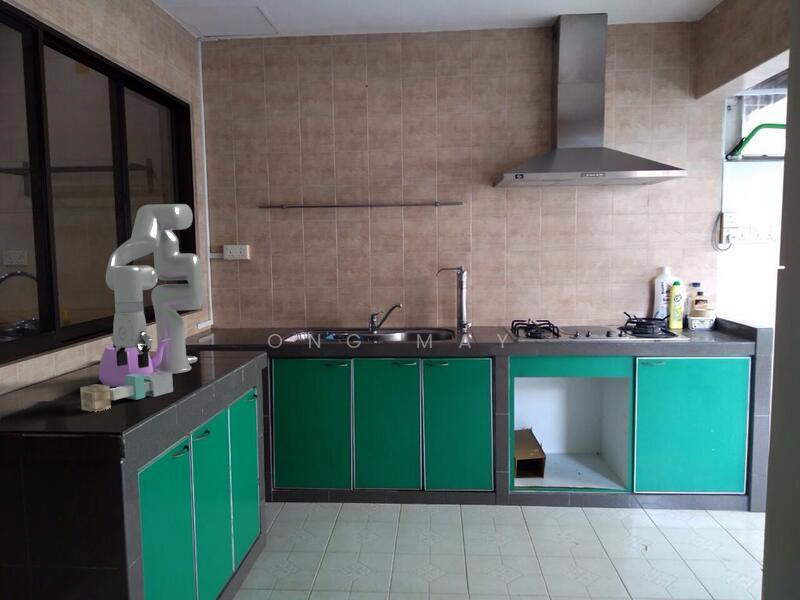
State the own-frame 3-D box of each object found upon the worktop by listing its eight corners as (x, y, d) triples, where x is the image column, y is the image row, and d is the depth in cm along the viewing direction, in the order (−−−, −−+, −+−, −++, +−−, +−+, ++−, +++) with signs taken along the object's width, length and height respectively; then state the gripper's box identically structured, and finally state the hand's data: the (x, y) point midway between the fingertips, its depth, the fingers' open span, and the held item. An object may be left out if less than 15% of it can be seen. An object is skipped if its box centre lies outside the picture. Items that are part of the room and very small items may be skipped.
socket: (96, 405, 173) (95, 384, 172) (110, 408, 169) (109, 386, 169) (81, 409, 169) (80, 387, 168) (95, 412, 166) (94, 389, 165)
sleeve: (160, 389, 191) (159, 371, 190) (173, 391, 188) (172, 372, 187) (140, 394, 185) (139, 375, 184) (153, 396, 182) (152, 377, 181)
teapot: (98, 394, 187) (94, 346, 185) (100, 381, 206) (97, 337, 204) (176, 385, 196) (173, 339, 195) (171, 374, 215) (169, 332, 214)
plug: (160, 389, 190) (158, 367, 190) (170, 390, 188) (169, 369, 187) (105, 403, 174) (104, 379, 174) (116, 404, 172) (114, 381, 171)
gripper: (99, 309, 179) (103, 366, 180) (137, 309, 170) (140, 370, 171) (122, 307, 185) (125, 362, 186) (159, 307, 176) (163, 366, 177)
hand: (132, 366), depth 178 cm, fingers open, 9 cm apart
